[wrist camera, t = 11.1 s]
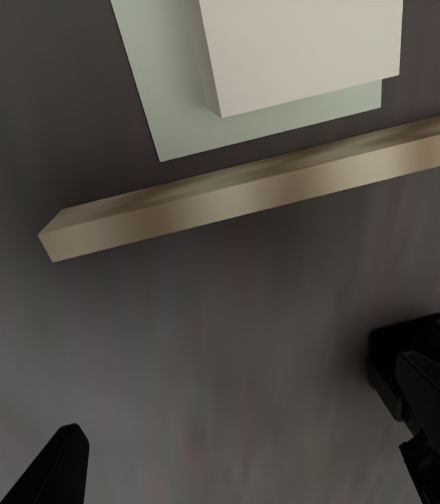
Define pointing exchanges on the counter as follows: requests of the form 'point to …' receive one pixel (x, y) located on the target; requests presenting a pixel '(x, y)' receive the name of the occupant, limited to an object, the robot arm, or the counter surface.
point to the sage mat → (191, 91)
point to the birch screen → (243, 189)
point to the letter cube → (290, 48)
